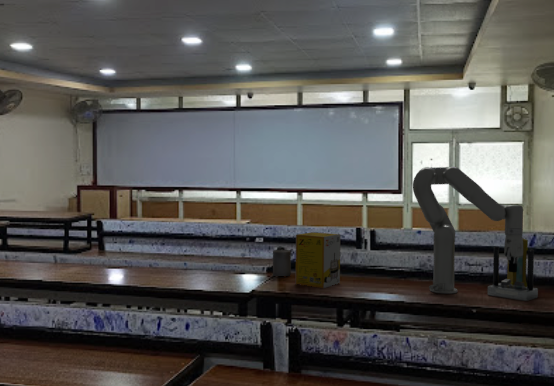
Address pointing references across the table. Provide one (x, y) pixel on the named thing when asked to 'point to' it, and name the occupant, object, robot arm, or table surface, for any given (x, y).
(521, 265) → the book
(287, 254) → the gray lidded canister
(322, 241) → the packaging box
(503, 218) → the robot arm
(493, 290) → the gray double-post stand
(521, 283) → the paddle
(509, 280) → the paddle
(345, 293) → the table surface
